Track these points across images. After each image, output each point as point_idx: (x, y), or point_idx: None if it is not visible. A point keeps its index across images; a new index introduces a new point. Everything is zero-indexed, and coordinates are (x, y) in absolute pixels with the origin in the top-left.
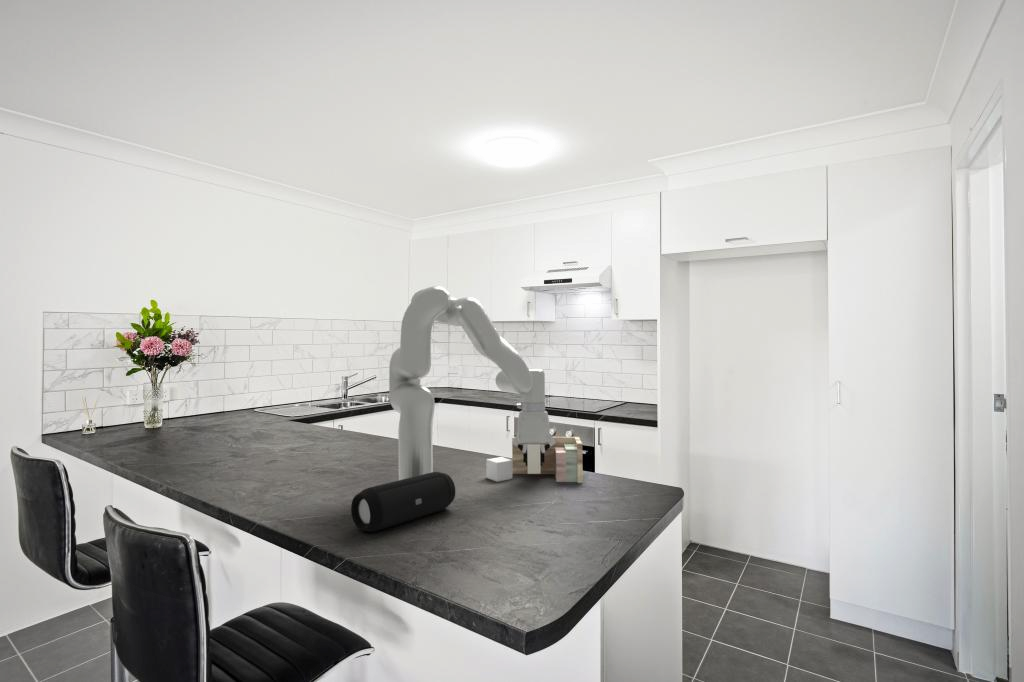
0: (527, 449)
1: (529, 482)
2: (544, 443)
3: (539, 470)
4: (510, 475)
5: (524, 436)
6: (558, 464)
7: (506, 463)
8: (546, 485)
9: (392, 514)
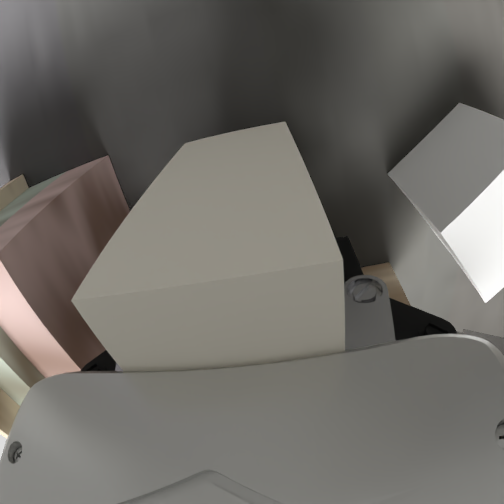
0: (320, 206)
1: (266, 100)
2: (73, 372)
3: (187, 148)
4: (405, 172)
5: (438, 463)
6: (41, 205)
7: (470, 185)
8: (141, 63)
9: None
